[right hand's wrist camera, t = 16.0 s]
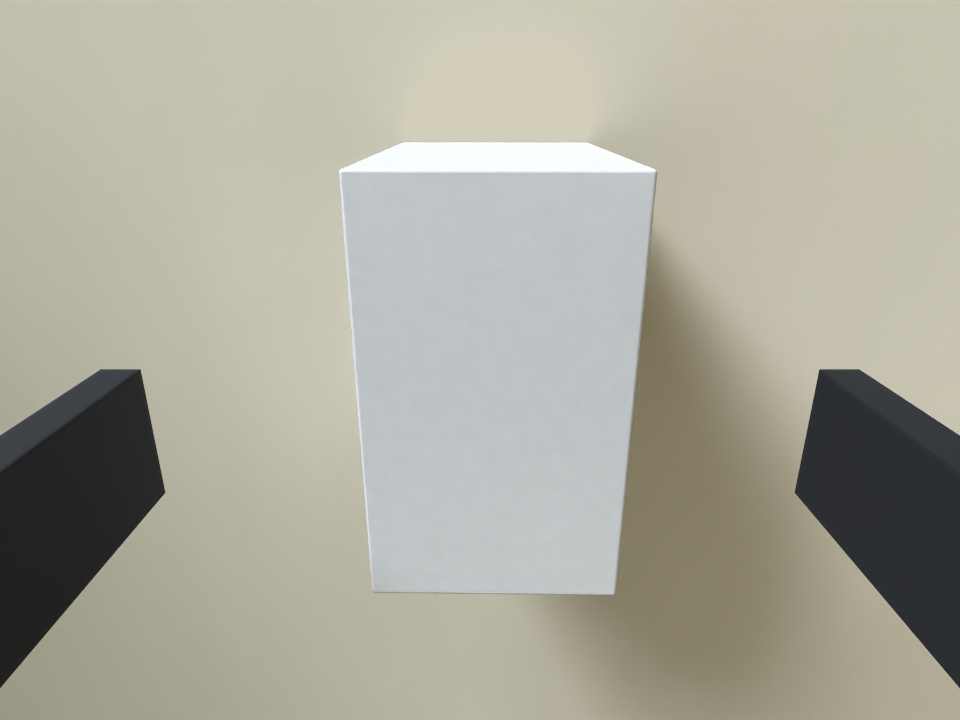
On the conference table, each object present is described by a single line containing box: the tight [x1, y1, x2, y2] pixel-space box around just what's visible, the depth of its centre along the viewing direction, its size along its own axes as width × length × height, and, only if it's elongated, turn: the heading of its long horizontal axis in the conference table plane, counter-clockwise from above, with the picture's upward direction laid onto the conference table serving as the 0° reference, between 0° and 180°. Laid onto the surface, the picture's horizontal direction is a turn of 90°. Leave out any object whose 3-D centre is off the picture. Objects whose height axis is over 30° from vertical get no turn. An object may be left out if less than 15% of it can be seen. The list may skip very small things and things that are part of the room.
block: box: [339, 142, 657, 595], centre depth 16 cm, size 9×5×8 cm, turn 0°
